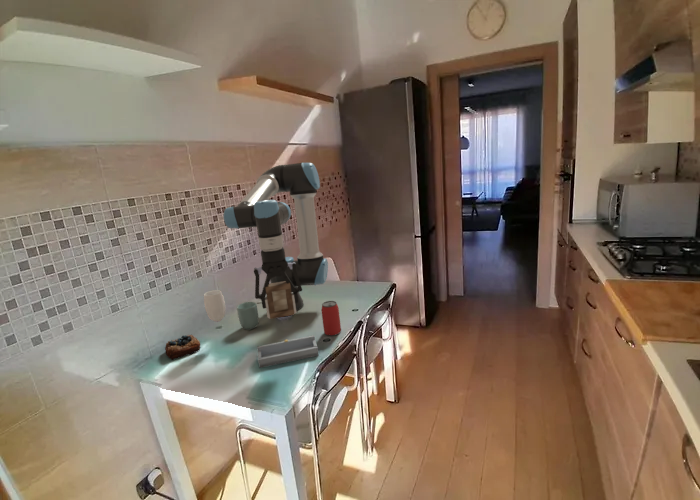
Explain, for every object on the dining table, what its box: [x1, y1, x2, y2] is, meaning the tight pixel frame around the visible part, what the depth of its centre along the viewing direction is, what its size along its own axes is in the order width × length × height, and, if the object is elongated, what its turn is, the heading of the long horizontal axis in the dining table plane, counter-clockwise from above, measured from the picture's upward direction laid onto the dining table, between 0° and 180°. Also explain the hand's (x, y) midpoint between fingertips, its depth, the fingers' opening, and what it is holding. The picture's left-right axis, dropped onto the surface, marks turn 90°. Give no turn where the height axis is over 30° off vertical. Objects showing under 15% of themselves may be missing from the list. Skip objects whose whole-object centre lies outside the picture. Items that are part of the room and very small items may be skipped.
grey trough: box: [256, 334, 320, 369], centre depth 128 cm, size 20×7×5 cm, turn 104°
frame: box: [265, 281, 296, 320], centre depth 123 cm, size 8×4×11 cm, turn 104°
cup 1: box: [203, 289, 226, 323], centre depth 142 cm, size 7×7×21 cm
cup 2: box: [236, 301, 260, 330], centre depth 154 cm, size 8×8×10 cm
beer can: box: [321, 300, 342, 337], centre depth 142 cm, size 7×7×12 cm
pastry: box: [164, 334, 201, 361], centre depth 140 cm, size 11×12×6 cm
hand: (282, 314), depth 125 cm, fingers closed on frame, 8 cm apart
